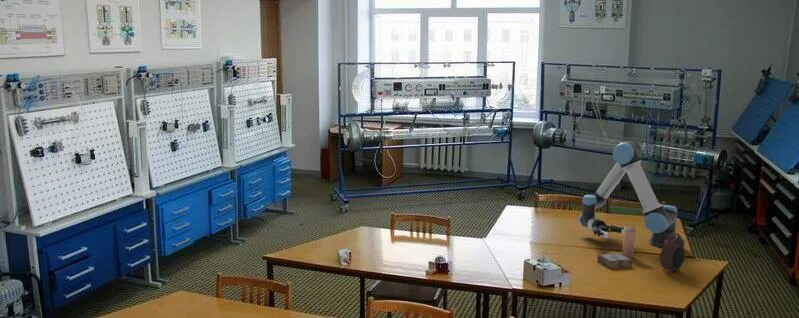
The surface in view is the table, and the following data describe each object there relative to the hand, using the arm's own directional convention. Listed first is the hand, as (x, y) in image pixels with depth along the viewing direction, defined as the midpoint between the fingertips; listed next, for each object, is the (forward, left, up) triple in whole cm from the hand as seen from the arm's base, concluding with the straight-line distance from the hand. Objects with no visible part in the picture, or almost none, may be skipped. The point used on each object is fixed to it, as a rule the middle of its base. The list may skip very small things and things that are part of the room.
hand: (618, 235), depth 397 cm
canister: (0, +10, -9) cm, 14 cm away
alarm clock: (-7, +38, -10) cm, 40 cm away
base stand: (+15, +20, -9) cm, 26 cm away
